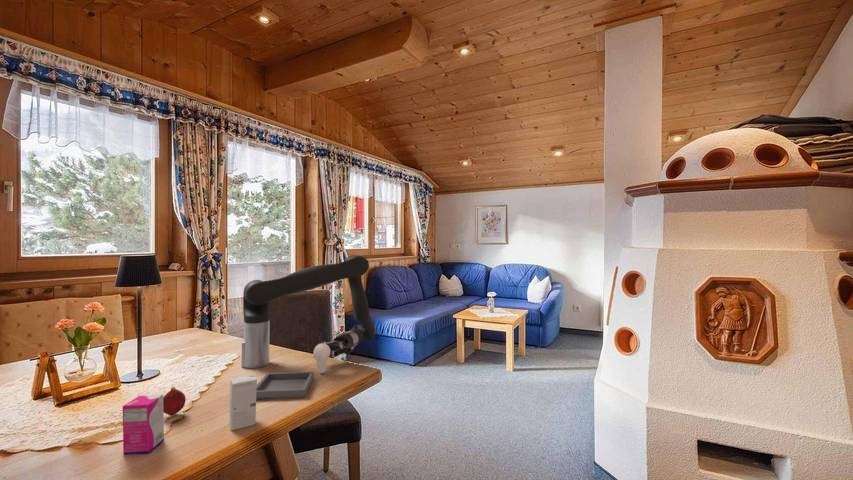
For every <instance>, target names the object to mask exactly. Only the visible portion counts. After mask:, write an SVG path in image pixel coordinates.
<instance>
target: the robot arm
mask: <svg viewBox="0 0 853 480" xmlns="http://www.w3.org/2000/svg"><path fill="white" fill-rule="evenodd" d="M369 267H370V263H369V260H368V259H367V258H366V257H364V256H362V255H357V254H353V255H349V256H347V257H346V258H345V260H344V261H340V262H336V263H329V264H328V263H327V264H318V265H314V266H313V265H312V266H309V267H306V268H305V267H304V268H302V269H299V270H296V271H294V272H291V273H289V274H288V275H285V276H283V277H280V278H276V279H275V278H274V279H270V280H261V279H253V280H251V281H249V282H248V283H246V284H245V286H244V288H243V294H242V295H243V296H242V299H243V304H242V305H243V306H242V309H243V341H242V342H241V368H246V369H258V368H259V369H260V368H262V367H265V366H268V365H269V364H270V323H271V322H270V321H271V320H270V319H271V318H270V317H271V315H270V314H271V313H270V309H269V308H270V307H269V302H272V301H274V300H276V299H280V298H282V297H285V296H287V295H293V294H297V293H302V292H306V291H310V290H313V289H317V288H320V287H323V286H327V285H330V284H333V283H335V282H337V281H340V280H346V279H347V282H348V286H349V290H350V296H351V301H352V302H351V303H352V311H353V318H354V320H355V321H358V322H361V323H362V324H356V325H353V327H352V328H351V329H350V330H348V331H345V332H342V333H340V334H339V335H336V336H335V337H334V338H333V340H332V341H329V342H327V341H326V340H323V341H321V342H318V343H316V344H315V347H316V346H317V345H319V344H322V343H324V344H327V345H328V346H329V347H330V352H333V357H338V356H340V355H346V356H347V355H349V354H350V353H352V352H354V348H355V347H356V346H358V345H359V344H361V343H362V341H372V340H374V338H375V335H376V328H375V325H374V322H373V321H372V318H371V316H370V309H369V303H368V297H367V294H366V292H365V289H364V285H363V282H362V281H363V280H362V276H363V275H365V274H367V272H368V271H369Z"/></svg>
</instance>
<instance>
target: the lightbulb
mask: <svg viewBox="0 0 853 480" xmlns="http://www.w3.org/2000/svg"><path fill="white" fill-rule="evenodd" d="M312 353H313V356H314V358H315V360H316V363H317V372H318V373H320V374H324V373H325V372H326V368H327V367H326V366H327V362H328V359H329V357H330V355H331V351H330V347H329V346H328V345H327V344H324V343H322V344H319V345H317V346H316V345H315V347H314V348H313V351H312Z"/></svg>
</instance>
